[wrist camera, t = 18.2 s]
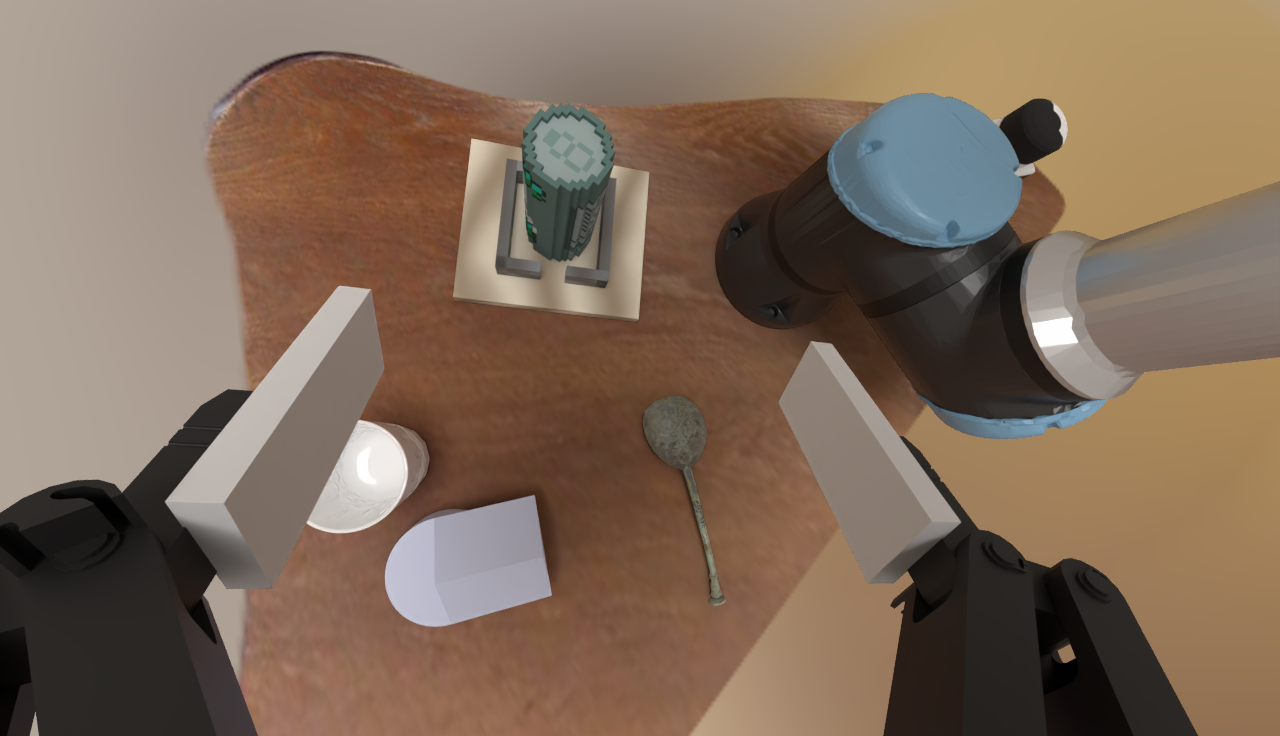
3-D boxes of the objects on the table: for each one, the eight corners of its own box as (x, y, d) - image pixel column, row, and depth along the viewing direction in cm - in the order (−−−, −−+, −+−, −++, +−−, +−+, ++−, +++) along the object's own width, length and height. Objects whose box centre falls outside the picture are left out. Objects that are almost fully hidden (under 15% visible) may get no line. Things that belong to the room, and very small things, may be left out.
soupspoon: (690, 388, 50) (633, 402, 49) (699, 385, 47) (638, 400, 46) (742, 589, 48) (684, 609, 47) (755, 601, 45) (693, 623, 44)
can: (550, 190, 46) (557, 87, 32) (600, 226, 47) (629, 142, 32) (515, 236, 45) (505, 152, 30) (567, 272, 46) (582, 207, 31)
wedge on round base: (534, 489, 45) (389, 522, 42) (534, 502, 38) (362, 542, 35) (550, 582, 44) (405, 622, 41) (553, 611, 38) (380, 661, 34)
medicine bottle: (937, 208, 59) (1036, 157, 47) (922, 155, 59) (1016, 92, 47) (980, 199, 61) (1086, 148, 49) (964, 148, 61) (1066, 85, 49)
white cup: (333, 431, 41) (270, 437, 31) (425, 408, 43) (393, 406, 33) (354, 517, 41) (297, 549, 31) (446, 489, 43) (419, 512, 33)
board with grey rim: (645, 179, 50) (655, 159, 46) (635, 321, 48) (644, 313, 45) (473, 147, 46) (468, 122, 43) (455, 300, 45) (447, 289, 41)
